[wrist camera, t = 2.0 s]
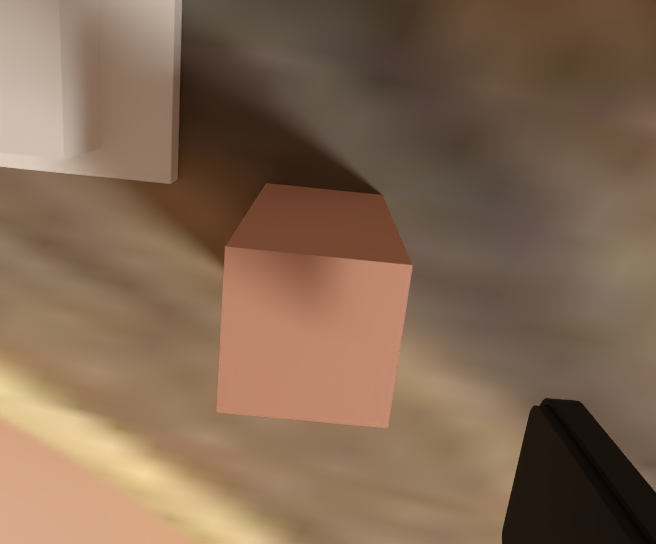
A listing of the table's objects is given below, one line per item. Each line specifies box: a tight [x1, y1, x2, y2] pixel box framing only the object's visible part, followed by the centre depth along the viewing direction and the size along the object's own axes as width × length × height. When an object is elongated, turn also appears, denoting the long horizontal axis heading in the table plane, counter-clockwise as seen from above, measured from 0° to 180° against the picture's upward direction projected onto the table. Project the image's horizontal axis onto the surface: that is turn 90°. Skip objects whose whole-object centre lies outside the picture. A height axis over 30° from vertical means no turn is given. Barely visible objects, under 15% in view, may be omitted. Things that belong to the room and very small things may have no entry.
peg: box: [217, 183, 413, 428], centre depth 19 cm, size 4×4×9 cm
